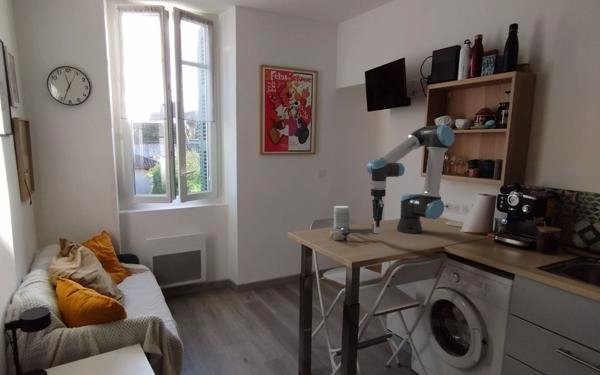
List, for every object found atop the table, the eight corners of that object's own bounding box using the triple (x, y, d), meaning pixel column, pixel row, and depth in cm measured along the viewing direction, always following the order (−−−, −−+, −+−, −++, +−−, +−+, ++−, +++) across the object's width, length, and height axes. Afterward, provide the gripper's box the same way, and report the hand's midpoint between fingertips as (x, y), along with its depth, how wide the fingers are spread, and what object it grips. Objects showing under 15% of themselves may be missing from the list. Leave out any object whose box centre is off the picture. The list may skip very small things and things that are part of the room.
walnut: (334, 236, 195) (335, 230, 195) (340, 238, 191) (341, 232, 191) (328, 237, 193) (328, 231, 192) (333, 239, 189) (334, 233, 188)
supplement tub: (352, 230, 216) (352, 207, 214) (340, 232, 210) (340, 208, 209) (341, 227, 224) (342, 204, 222) (330, 229, 218) (330, 206, 217)
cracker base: (357, 235, 203) (357, 233, 203) (383, 243, 187) (383, 241, 186) (326, 241, 191) (326, 238, 191) (350, 250, 174) (350, 247, 174)
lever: (376, 237, 192) (377, 223, 191) (379, 240, 187) (380, 225, 186) (333, 238, 189) (333, 223, 188) (334, 241, 184) (335, 225, 183)
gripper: (367, 187, 189) (366, 229, 192) (375, 190, 176) (373, 235, 179) (381, 187, 190) (379, 229, 192) (389, 190, 177) (387, 235, 180)
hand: (376, 232), depth 186 cm, fingers closed
